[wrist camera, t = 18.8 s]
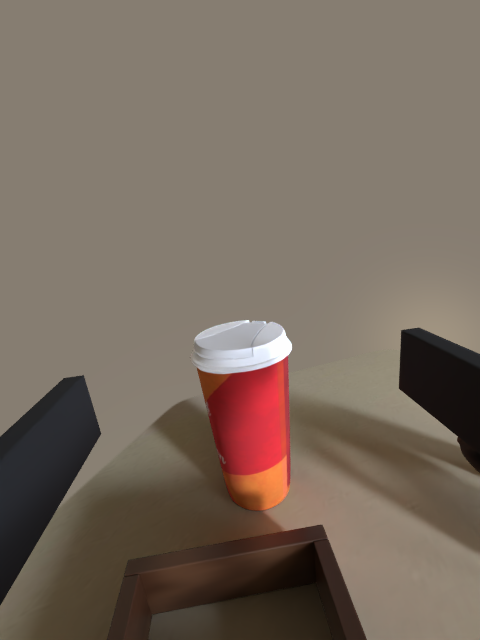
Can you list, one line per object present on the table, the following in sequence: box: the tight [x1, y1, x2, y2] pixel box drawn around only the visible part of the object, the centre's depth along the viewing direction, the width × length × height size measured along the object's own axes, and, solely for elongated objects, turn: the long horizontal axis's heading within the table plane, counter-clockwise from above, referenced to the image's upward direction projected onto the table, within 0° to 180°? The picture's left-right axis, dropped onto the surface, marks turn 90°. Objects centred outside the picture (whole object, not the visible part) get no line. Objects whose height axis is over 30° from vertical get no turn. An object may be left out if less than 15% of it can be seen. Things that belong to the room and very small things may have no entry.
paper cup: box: [190, 320, 292, 511], centre depth 23 cm, size 8×8×14 cm
